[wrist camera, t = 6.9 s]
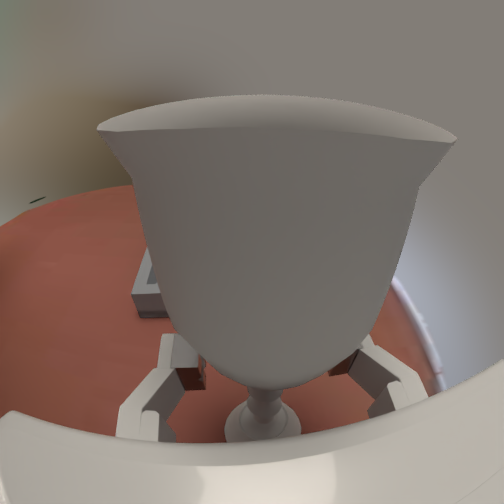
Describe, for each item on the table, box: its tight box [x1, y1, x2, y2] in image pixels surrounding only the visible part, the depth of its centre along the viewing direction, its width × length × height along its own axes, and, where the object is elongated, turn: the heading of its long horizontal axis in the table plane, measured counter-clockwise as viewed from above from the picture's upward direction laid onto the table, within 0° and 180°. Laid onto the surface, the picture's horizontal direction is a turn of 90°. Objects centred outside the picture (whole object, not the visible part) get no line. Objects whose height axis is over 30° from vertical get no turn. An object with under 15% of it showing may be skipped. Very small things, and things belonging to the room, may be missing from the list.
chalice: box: [97, 95, 458, 443], centre depth 10 cm, size 7×7×18 cm
